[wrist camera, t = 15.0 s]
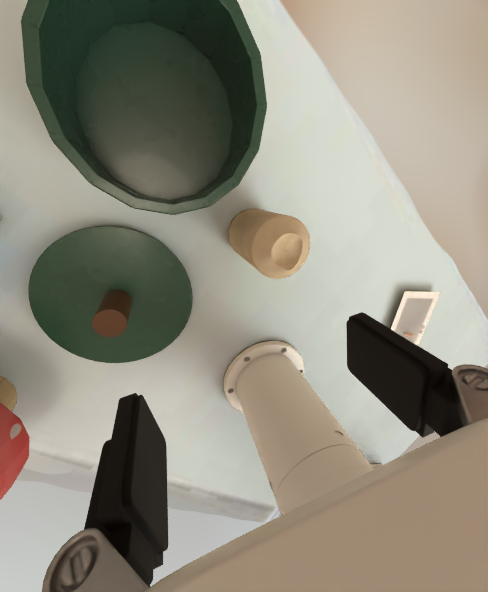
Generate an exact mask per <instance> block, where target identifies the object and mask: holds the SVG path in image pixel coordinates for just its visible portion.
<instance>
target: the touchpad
mask: <svg viewBox="0 0 488 592" xmlns="http://www.w3.org/2000/svg"><path fill="white" fill-rule="evenodd" d="M440 293H441V292H413V291H405V292H404V295H403V297H402V300H401V303H400V305H399V308H398V311H397V313H396V316H395V319H394V321H393V324H392V327H391V330H393V331H394V332H396V333H398V334H399V335H401V336H402V337H404V338H406V339H407V340H409V341H411V342H412V343H414V344H416V345H417V346H418V344H419V342H420V339H421V337H422V335H423V332H424V330H425V328H426V326H427V323H428V321H429V319H430V316H431V314H432V312H433V309H434V307H435V305H436V302H437V300H438V298H439V295H440Z"/></svg>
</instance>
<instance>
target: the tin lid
mask: <svg viewBox="0 0 488 592" xmlns="http://www.w3.org/2000/svg"><path fill="white" fill-rule="evenodd" d="M29 301H30V306H31V309H32V312H33V314H34V317H35V319H36V320H37V322H38V324H39V325H40V327H41V328H42V329H43V331H44V332H45V333H46V334H47V335H48V336H49V337H50V338H51V339H52V340H53V341H54V342H55V343H57V344H58V345H59V346H61V347H62V348H64V349H66V350H67V351H69V352H71V353H73V354H75V355H77V356H80V357H83V358H86V359H89V360H94V361H99V362H106V363H123V362H131V361H136V360H140V359H143V358H146V357H149V356H151V355H154V354H156V353H157V352H159V351H161V350H163V349H164V348H166V347H167V346H168V345H169V344H171V343H172V342H173V341H174V340H175V339H176V338H177V337H178V336H179V335H180V333H181V332H182V330H183V329H184V327H185V325H186V323H187V321H188V319H189V316H190V313H191V308H192V288H191V284H190V280H189V278H188V275H187V272H186V270H185V269H184V267H183V265H182V263H181V262H180V261H179V259H178V258H177V257H176V256H175V255H174V254H173V253H172V252H171V250H170V249H168V248H167V247H166V246H165V245H163V244H162V243H161V242H159V241H157V240H156V239H154V238H153V237H151V236H148V235H146V234H144V233H142V232H139V231H136V230H133V229H129V228H124V227H116V226H96V227H90V228H85V229H81V230H78V231H75V232H72V233H70V234H68V235H66V236H64V237H62V238H60V239H59V240H57V241H56V242H54V243H53V244H52V245H51V246H49V247H48V248H47V249H46V250H45V251H44V252H43V254H42V255H41V256H40V257H39V259H38V260H37V262H36V264H35V266H34V267H33V270H32V273H31V276H30V281H29Z"/></svg>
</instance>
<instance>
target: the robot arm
mask: <svg viewBox="0 0 488 592" xmlns="http://www.w3.org/2000/svg"><path fill="white" fill-rule="evenodd" d="M347 366H348V369H349V370H350V372H351V373H352V374H353V375H354V376H355V377H356V378H357V379H358V380H359V381H360V382H361V383H362V384H363V385H365V386H366V387H367V388H368V389H369V390H370V391H371V392H372V393H373V394H374V395H375V396H376V397H377V398H378V399H379V400H380V401H381V402H382V403H383V404H384V405H385V406H386V407H387V408H388V409H389V410H390V411H391V412H392V413H394V414H395V415H396V416H397V417H398V418H399V419H400V420H401V421H402V422H403V423H404V424H405V425H406V426H407V427H408V428H409V429H410V430H412V431H416V432H417V433H418V434H419V435H420V436H422V437H425V436H427V435H429V434H431V433H433V432H434V431H435V432H436V433H438V434H439V435H440V438H438V439H436V440H434V441H432V442H430V443H428V444H426V445H424V446H422V447H420V448H417V449H415V450H413V451H411V452H409V453H407V454H405V455H403V456H401V457H399V458H397V459H395V460H393V461H391V462H389V463H387V464H385V465H383V466H381V467H379V468H376V469H373V467H372V466H371V465H370V463H369V462H368V461H367V459H366V458H365V457H364V456H363V454H362V453H361V452H360V450H359V449H358V447H357V446H356V445H355V444H354V442H353V441H352V440H351V438H350V437H349V436H348V434H347V433H346V432H345V430H344V429H343V428H342V426H341V425H340V424H339V422H338V421H337V420H336V419H335V417H334V416H333V415H332V413H331V412H330V411H329V409H328V408H327V407H326V405H325V404H324V403H323V401H322V400H321V399H320V397H319V396H318V395H317V394H316V392H315V391H314V390H313V388H312V387H311V386H310V384H309V383H308V382H307V380H306V379H305V378H304V362H303V359H302V357H301V355H300V354H299V353H298V352H297V350H296V349H295V348H293V347H292V346H291V345H289V344H287V343H284V342H280V341H267V342H262V343H259V344H255V345H253V346H251V347H249V348H247V349H246V350H244V351H243V352H242V353H240V354H239V355H238V356H237V357H236V358H235V359H234V360H233V362H232V363H231V364H230V366H229V368H228V370H227V372H226V374H225V378H224V391H225V395H226V397H227V400H228V401H229V403H230V404H231V405H232V406H233V407H234V408H235V409H237V410H239V411H241V412H244V415H245V417H246V420H247V423H248V426H249V428H250V431H251V434H252V436H253V439H254V442H255V445H256V447H257V450H258V453H259V456H260V458H261V461H262V464H263V466H264V469H265V472H266V475H267V477H268V480H269V483H270V486H271V488H272V491H273V493H274V496H275V499H276V501H277V505H278V507H279V510H280V513H281V515H282V516H280V517H278V518H276V519H274V520H272V521H270V522H268V523H266V524H264V525H262V526H260V527H258V528H256V529H254V530H252V531H250V532H248V533H246V534H245V535H242V536H240V537H238V538H236V539H234V540H232V541H230V542H229V543H227V544H225V545H223V546H221V547H219V548H217V549H215V550H213V551H211V552H210V553H208V554H206V555H204V556H202V557H200V558H198V559H196V560H194V561H192V562H190V563H189V564H187V565H185V566H183V567H182V568H180V569H179V570H177V571H175V572H173V573H172V574H170V575H168V576H166V577H165V578H163V579H161V580H160V581H158V582H157V583H156V584H154V585H153V586H152V587H151V586H150V584H151V582H152V580H153V569H155V568H157V567H159V566H161V565H163V551H165V550H167V548H168V512H167V511H168V509H167V458H166V442H165V438H164V436H163V434H162V432H161V430H160V428H159V426H158V424H157V423H156V421H155V419H154V417H153V415H152V413H151V411H150V409H149V407H148V405H147V403H146V401H145V399H144V397H143V396H142V395H139V396H138V395H137V394H136V393H134V394H131V395H128V396H126V397H123V398H120V400H119V404H118V409H117V414H116V419H115V424H114V429H113V434H112V439H111V440H108V441H106V442H105V443H104V445H103V448H102V453H101V457H100V462H99V466H98V470H97V475H96V479H95V484H94V488H93V492H92V497H91V501H90V506H89V510H88V515H87V519H86V523H85V528H84V530H83V531H80V532H78V533H77V534H76V535H74V536H72V537H71V538H70V539H69V540H68V541H67V542H66V543H65V544H64V545H63V546H62V547H61V549H60V550H59V551H58V552H57V554H56V555H55V556H54V558H53V560H52V562H51V564H50V565H49V567H48V569H47V572H46V575H45V578H44V581H43V588H42V592H488V369H487V368H484V367H481V366H476V365H459V366H457V367H455V368H454V369H453V370H451V369H449V368H448V364H447V363H445V362H443V361H442V360H440V359H438V358H437V357H435V356H434V355H432V354H430V353H429V352H427V351H425V350H424V349H422V348H420V347H419V346H417V345H416V344H414V343H412V342H411V341H409V340H407V339H406V338H404V337H402V336H401V335H399V334H398V333H396V332H394V331H393V330H391V329H389V328H388V327H386V326H384V325H383V324H381V323H380V322H378V321H376V320H375V319H373V318H371V317H370V316H368V315H366V314H365V313H358V314H356V315H353V316H350V317H349V320H348V321H347Z"/></svg>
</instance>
